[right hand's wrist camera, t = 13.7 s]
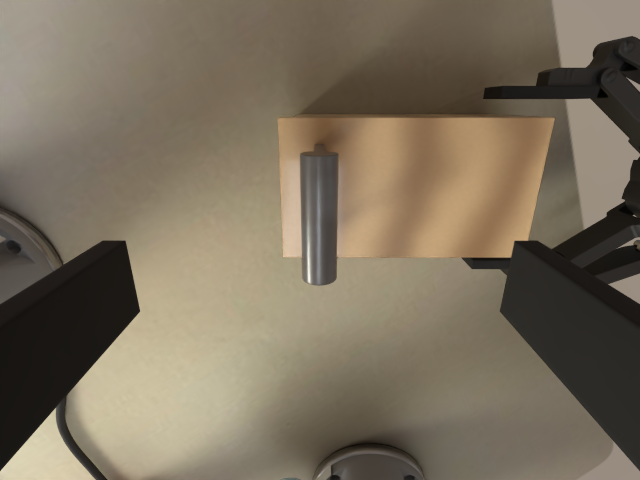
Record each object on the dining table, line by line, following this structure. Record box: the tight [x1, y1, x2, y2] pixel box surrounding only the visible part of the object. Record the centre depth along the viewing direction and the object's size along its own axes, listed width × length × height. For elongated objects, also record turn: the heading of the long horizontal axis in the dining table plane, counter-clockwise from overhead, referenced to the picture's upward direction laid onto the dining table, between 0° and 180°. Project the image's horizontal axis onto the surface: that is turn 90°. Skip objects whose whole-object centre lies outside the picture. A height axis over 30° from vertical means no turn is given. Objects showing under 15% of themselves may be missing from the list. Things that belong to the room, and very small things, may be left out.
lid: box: [278, 117, 555, 285], centre depth 21 cm, size 18×10×8 cm, turn 90°
